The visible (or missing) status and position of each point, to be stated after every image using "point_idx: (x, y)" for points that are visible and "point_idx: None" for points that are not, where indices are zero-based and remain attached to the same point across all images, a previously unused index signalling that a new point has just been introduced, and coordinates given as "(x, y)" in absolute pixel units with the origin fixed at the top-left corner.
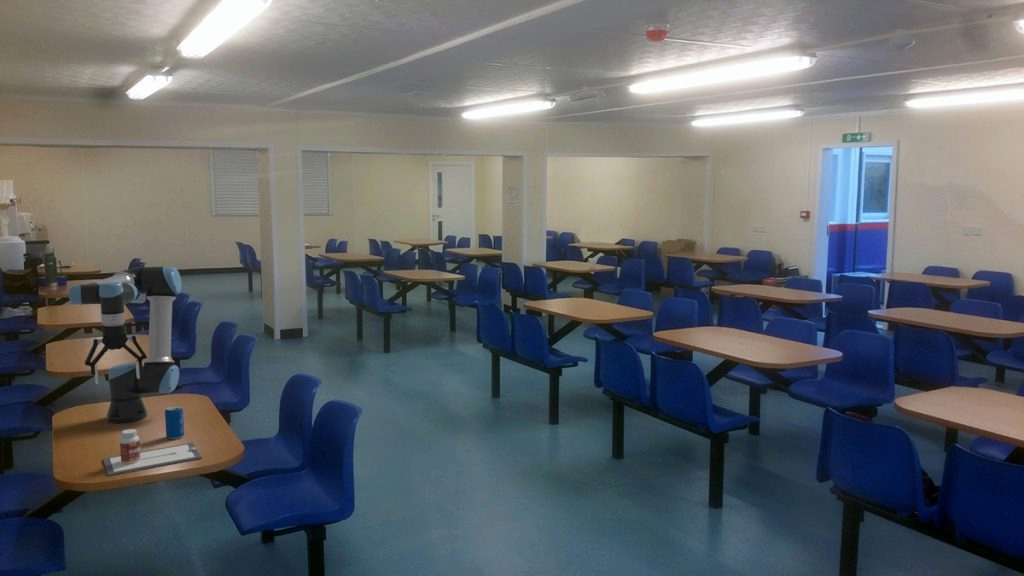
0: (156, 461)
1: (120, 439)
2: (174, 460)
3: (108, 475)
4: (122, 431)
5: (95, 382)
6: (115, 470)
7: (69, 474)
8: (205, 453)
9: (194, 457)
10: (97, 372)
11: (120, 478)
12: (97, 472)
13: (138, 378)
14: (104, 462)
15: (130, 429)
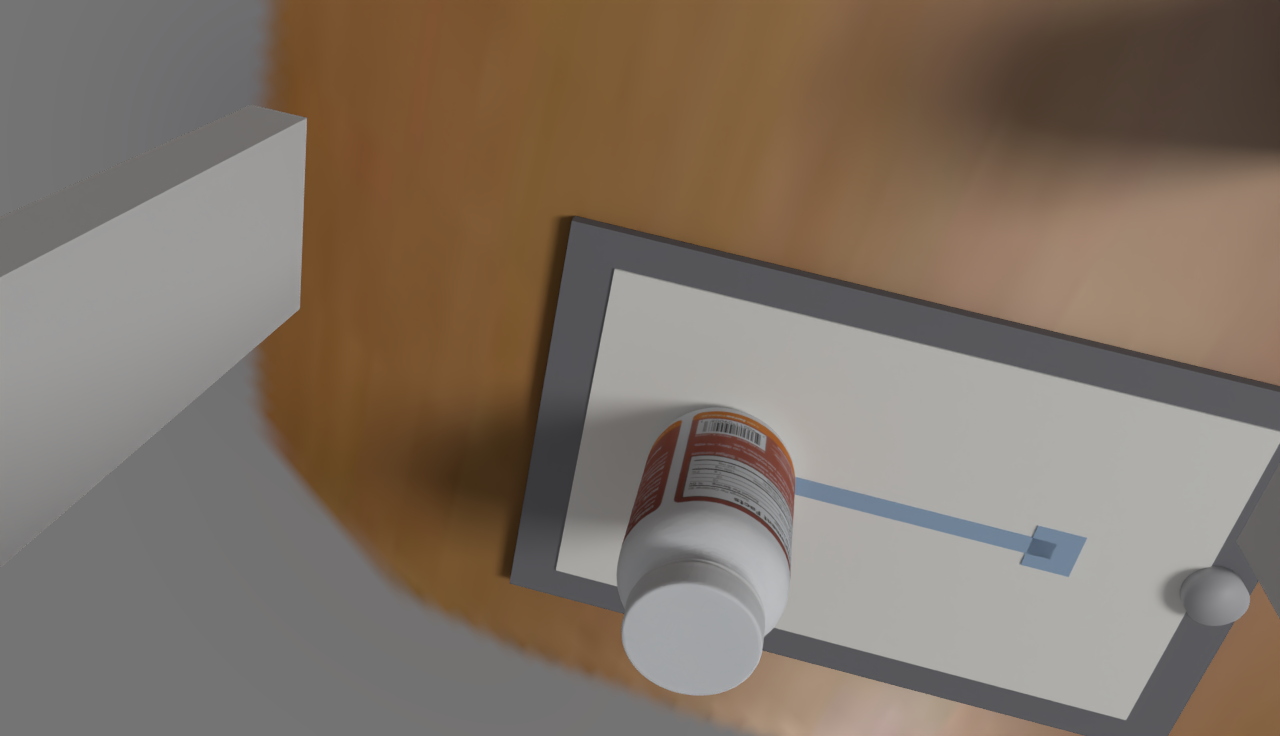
0: (864, 606)
1: (623, 563)
2: (971, 679)
3: (514, 579)
4: (636, 607)
5: (249, 116)
6: (569, 557)
7: (300, 350)
8: (1252, 675)
9: (1115, 724)
10: (110, 467)
11: (567, 661)
12: (472, 456)
13: (1262, 546)
14: (553, 333)
15: (723, 602)
